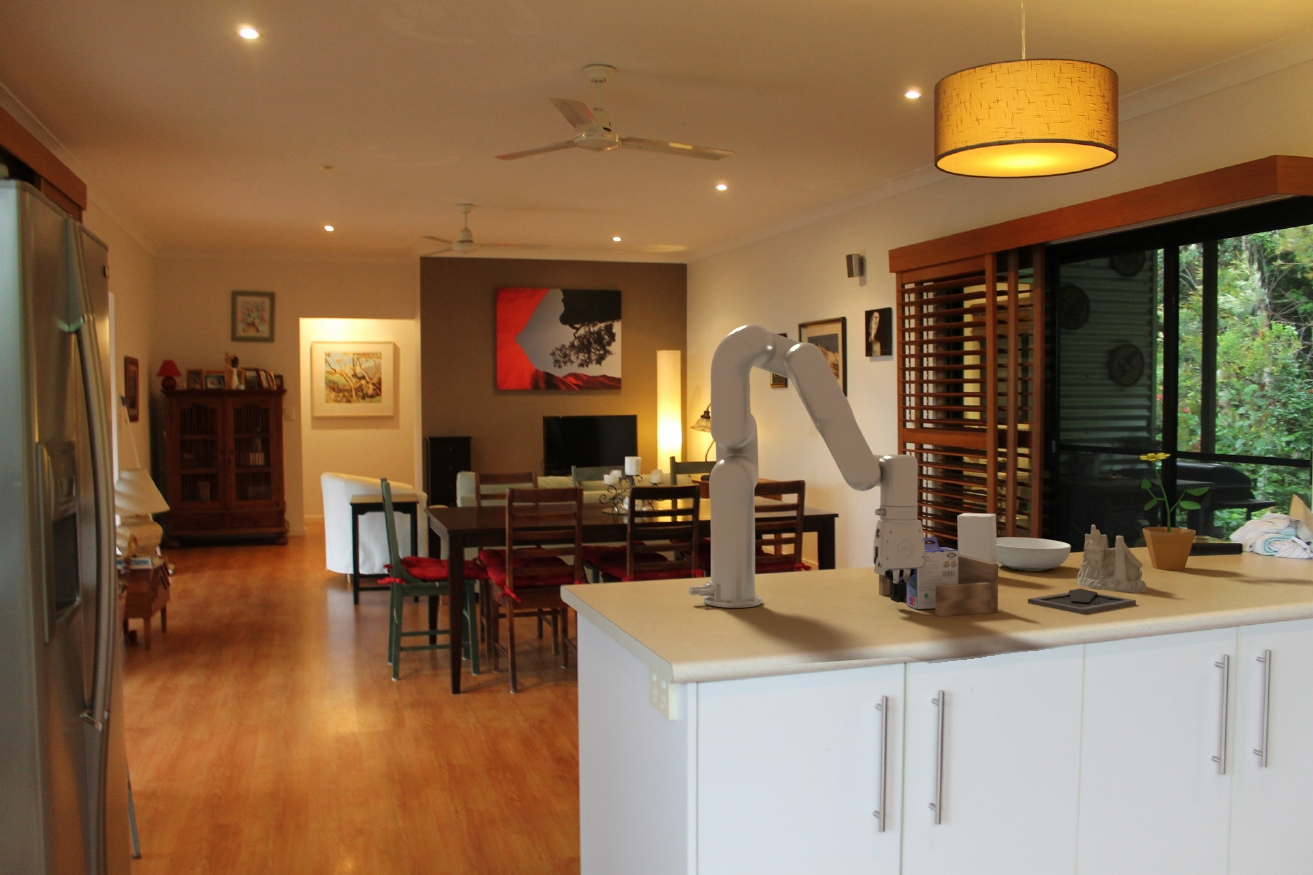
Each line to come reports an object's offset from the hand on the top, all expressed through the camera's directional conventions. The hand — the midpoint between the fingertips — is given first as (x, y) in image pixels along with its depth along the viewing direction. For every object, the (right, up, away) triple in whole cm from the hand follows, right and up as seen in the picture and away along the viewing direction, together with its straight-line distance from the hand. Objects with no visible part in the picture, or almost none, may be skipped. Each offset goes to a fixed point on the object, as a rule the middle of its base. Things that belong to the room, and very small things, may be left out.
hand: (897, 601), depth 206 cm
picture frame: (+41, -2, +5) cm, 41 cm away
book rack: (+10, -1, +6) cm, 12 cm away
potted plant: (+83, 0, +51) cm, 98 cm away
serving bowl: (+46, 0, +52) cm, 69 cm away
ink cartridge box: (+8, -2, +2) cm, 8 cm away
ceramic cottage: (+57, -1, +27) cm, 63 cm away
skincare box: (+29, -1, +39) cm, 49 cm away
